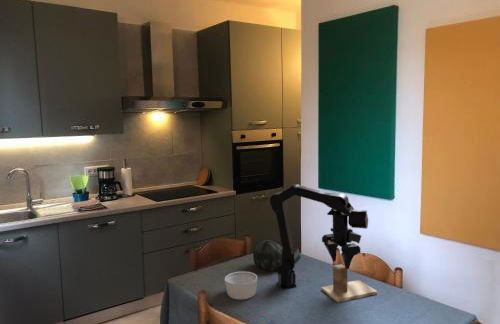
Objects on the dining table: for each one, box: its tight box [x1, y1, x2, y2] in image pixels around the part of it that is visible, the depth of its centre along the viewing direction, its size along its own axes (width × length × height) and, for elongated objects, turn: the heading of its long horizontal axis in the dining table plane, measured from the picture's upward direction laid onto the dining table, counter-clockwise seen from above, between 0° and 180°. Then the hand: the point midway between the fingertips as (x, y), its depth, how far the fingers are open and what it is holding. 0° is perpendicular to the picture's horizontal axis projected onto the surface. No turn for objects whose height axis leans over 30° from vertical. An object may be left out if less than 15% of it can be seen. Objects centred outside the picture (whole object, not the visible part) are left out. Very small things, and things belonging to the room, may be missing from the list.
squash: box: [252, 239, 282, 272], centre depth 189 cm, size 14×15×15 cm
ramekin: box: [224, 271, 258, 301], centre depth 162 cm, size 13×13×7 cm
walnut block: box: [332, 263, 348, 294], centre depth 159 cm, size 4×4×10 cm
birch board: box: [321, 279, 378, 303], centre depth 161 cm, size 18×12×1 cm, turn 110°
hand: (340, 265), depth 159 cm, fingers open, 9 cm apart
